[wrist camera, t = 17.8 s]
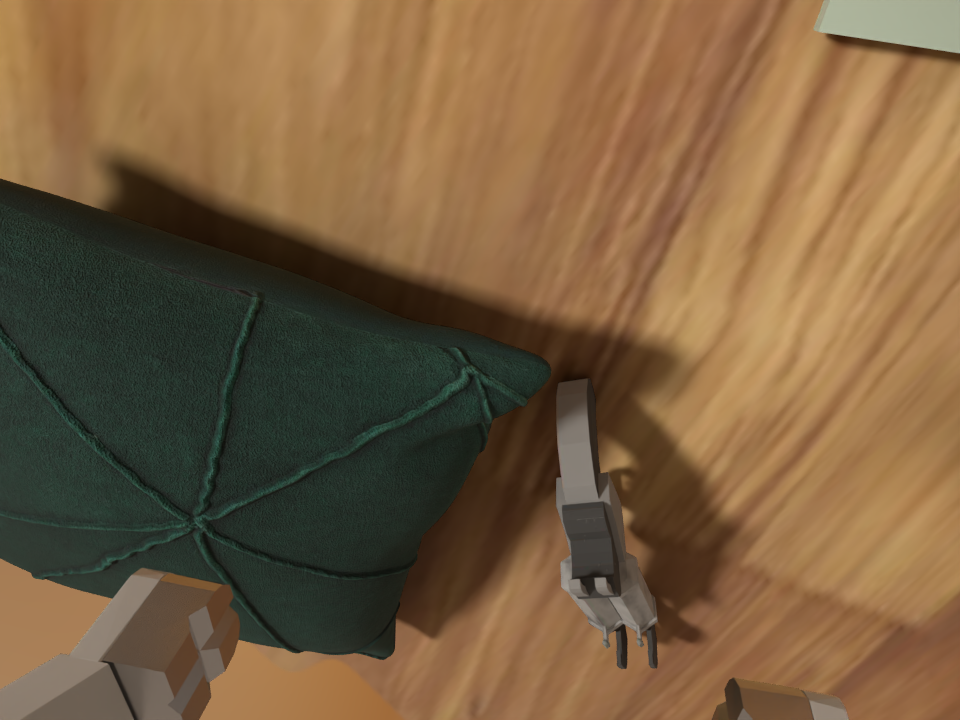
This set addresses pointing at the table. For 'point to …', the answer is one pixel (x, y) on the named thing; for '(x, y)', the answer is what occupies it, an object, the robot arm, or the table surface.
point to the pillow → (227, 424)
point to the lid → (895, 21)
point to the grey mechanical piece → (597, 530)
